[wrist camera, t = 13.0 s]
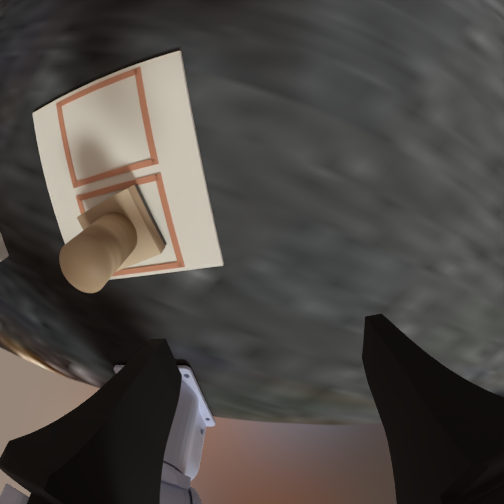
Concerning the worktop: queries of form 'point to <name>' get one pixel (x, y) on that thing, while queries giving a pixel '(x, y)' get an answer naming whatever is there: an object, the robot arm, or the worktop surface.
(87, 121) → the card sheet
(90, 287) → the stamp
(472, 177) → the worktop surface
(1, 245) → the ink pad
